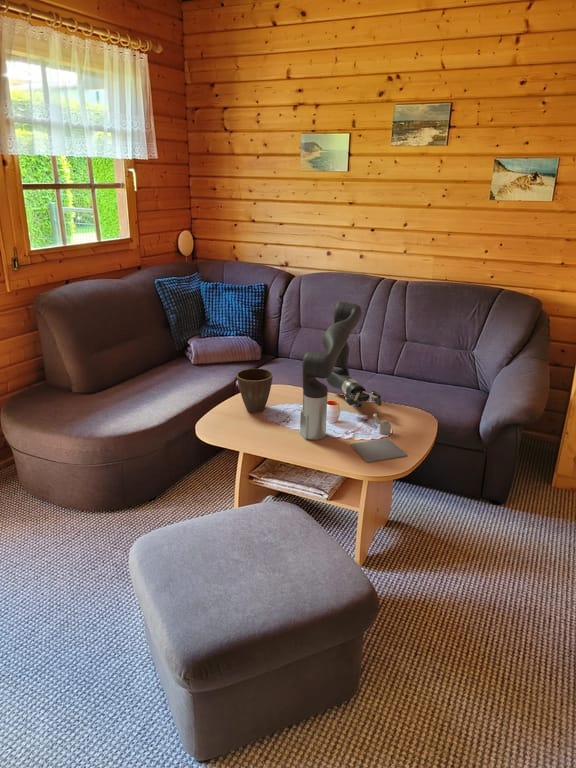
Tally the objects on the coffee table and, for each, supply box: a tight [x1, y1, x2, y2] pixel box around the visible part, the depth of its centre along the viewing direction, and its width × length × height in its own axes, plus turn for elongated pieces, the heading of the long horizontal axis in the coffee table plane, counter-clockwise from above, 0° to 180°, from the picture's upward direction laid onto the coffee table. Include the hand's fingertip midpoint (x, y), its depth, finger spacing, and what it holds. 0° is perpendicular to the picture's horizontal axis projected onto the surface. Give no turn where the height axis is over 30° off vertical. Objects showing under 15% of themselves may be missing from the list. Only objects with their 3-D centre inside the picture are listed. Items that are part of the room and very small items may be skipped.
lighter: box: [372, 413, 392, 435], centre depth 216 cm, size 7×2×8 cm, turn 86°
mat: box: [349, 437, 408, 464], centre depth 204 cm, size 16×14×1 cm
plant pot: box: [236, 368, 274, 414], centre depth 234 cm, size 15×15×16 cm
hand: (370, 405), depth 224 cm, fingers open, 8 cm apart
